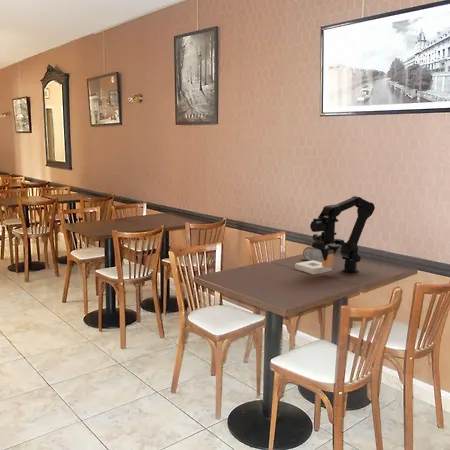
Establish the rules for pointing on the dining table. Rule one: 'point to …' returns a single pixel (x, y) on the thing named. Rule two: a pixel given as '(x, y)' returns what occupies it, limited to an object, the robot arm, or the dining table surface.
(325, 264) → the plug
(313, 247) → the robot arm
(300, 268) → the socket block
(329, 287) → the dining table surface
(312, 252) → the tin
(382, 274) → the dining table surface
